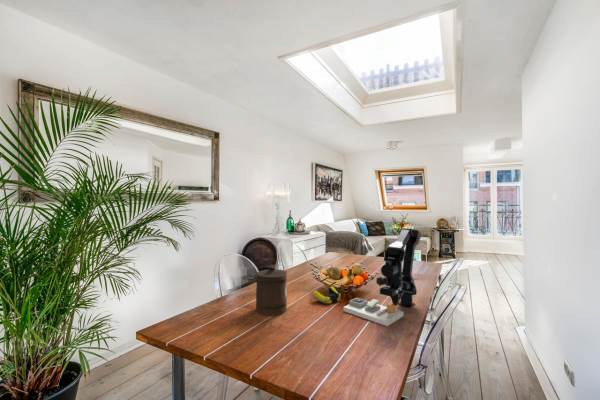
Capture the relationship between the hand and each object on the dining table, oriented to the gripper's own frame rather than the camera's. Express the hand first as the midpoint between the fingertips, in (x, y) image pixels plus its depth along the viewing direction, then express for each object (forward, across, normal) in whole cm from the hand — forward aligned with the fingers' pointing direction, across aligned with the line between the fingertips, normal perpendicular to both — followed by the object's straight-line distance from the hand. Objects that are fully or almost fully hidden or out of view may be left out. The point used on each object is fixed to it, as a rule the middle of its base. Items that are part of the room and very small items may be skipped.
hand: (395, 306), depth 134 cm
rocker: (-1, +6, -8) cm, 10 cm away
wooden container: (+4, +38, -45) cm, 59 cm away
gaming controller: (+4, +8, -34) cm, 35 cm away
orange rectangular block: (+2, +3, 0) cm, 4 cm away
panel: (+4, +6, -8) cm, 11 cm away
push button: (+2, +6, -16) cm, 17 cm away
